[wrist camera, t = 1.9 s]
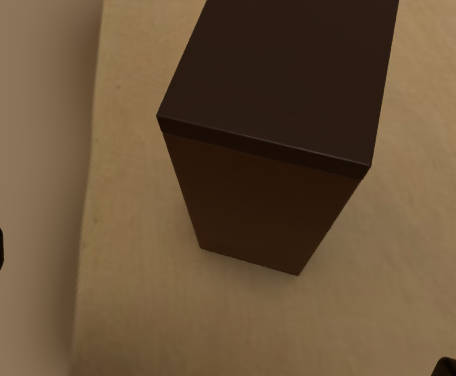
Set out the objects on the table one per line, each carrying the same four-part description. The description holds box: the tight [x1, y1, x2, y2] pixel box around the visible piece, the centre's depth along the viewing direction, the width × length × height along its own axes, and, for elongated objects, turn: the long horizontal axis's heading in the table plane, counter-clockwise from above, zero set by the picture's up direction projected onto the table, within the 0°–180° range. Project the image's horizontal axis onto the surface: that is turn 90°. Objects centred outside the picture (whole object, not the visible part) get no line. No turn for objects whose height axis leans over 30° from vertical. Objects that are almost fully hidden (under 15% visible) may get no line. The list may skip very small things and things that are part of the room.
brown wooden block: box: [156, 0, 399, 276], centre depth 17 cm, size 6×6×12 cm
